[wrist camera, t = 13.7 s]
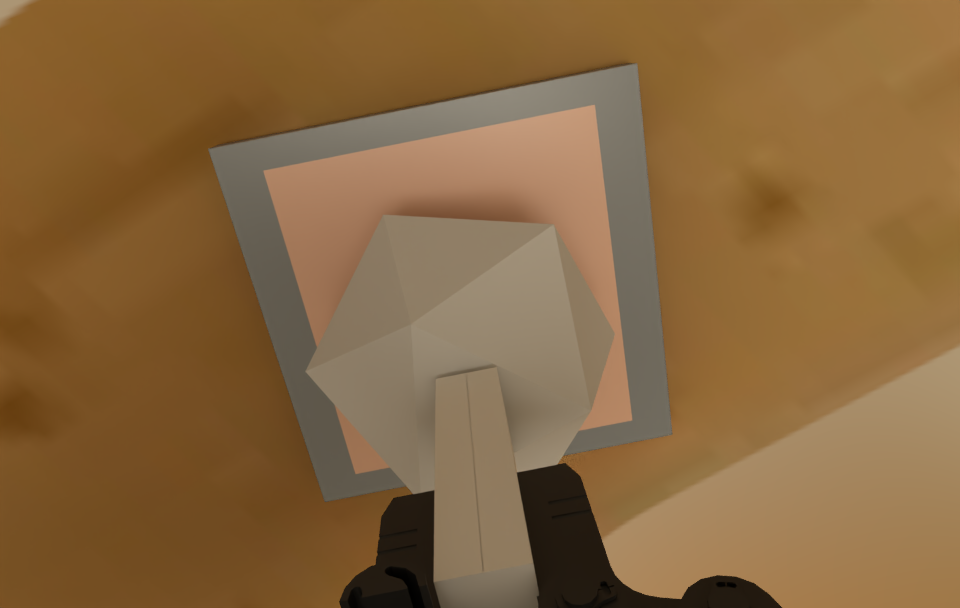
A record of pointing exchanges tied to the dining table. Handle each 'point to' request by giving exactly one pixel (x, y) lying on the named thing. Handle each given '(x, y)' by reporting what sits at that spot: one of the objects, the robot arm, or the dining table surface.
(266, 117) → the dining table surface
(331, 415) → the base plate
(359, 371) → the die
